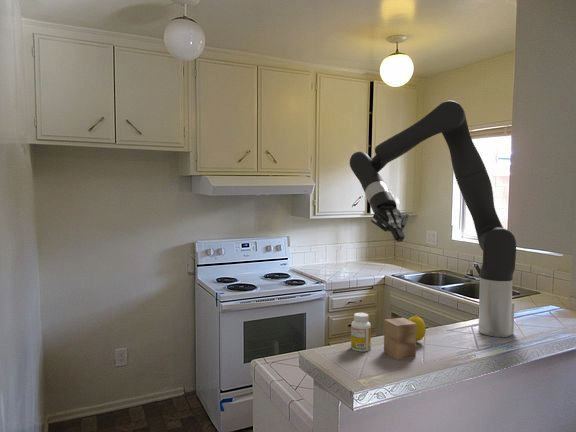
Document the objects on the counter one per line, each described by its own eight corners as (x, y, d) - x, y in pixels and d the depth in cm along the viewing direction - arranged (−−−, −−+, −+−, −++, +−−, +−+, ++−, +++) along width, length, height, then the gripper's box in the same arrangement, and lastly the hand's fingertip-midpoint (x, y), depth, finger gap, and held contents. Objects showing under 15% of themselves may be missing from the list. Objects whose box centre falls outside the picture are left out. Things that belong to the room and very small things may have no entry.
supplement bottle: (361, 344, 123) (362, 310, 123) (374, 350, 119) (375, 315, 118) (347, 347, 121) (347, 313, 120) (359, 353, 116) (359, 318, 116)
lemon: (403, 339, 128) (403, 312, 127) (421, 339, 128) (421, 312, 128) (409, 345, 122) (410, 318, 122) (428, 345, 123) (429, 317, 122)
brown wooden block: (402, 349, 119) (403, 317, 119) (415, 357, 114) (416, 323, 113) (383, 351, 117) (384, 319, 117) (396, 359, 112) (396, 325, 111)
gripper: (365, 190, 133) (386, 232, 122) (402, 190, 137) (425, 231, 126) (357, 206, 138) (376, 248, 127) (393, 206, 143) (414, 247, 131)
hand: (401, 240), depth 127 cm, fingers closed
